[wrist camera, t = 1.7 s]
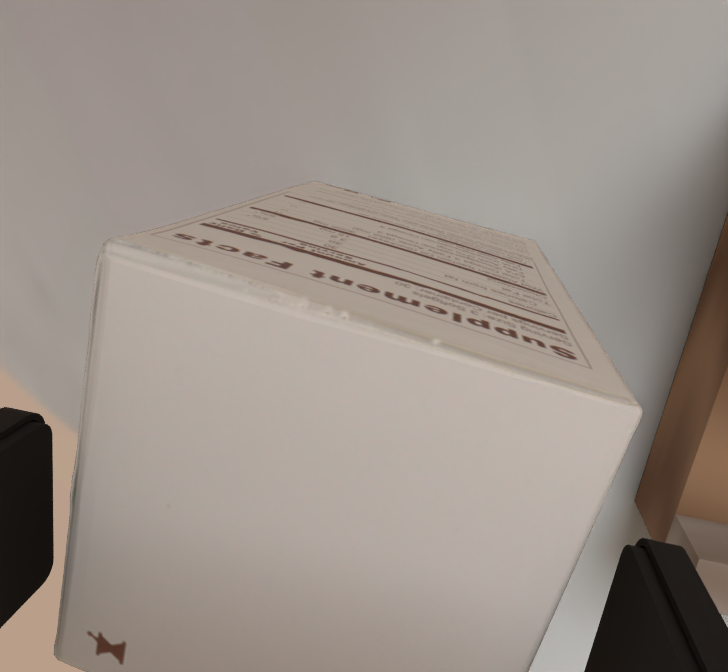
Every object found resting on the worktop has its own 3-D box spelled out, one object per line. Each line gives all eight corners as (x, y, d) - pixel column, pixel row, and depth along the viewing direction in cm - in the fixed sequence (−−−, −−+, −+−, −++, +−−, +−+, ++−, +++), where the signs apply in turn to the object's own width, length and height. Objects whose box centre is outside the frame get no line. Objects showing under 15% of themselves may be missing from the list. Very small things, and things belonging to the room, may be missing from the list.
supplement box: (468, 443, 22) (470, 823, 10) (264, 379, 22) (30, 670, 10) (544, 236, 19) (669, 413, 7) (312, 169, 20) (76, 233, 8)
